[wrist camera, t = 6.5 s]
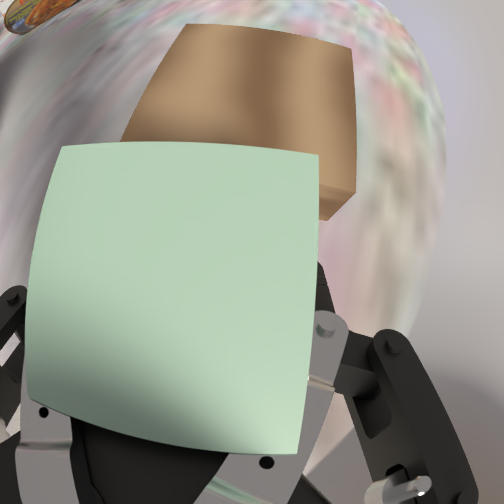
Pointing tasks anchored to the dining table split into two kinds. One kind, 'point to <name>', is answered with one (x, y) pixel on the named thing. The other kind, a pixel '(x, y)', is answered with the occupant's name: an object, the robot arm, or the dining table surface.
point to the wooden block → (257, 99)
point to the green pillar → (177, 292)
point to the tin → (32, 13)
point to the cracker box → (5, 6)
